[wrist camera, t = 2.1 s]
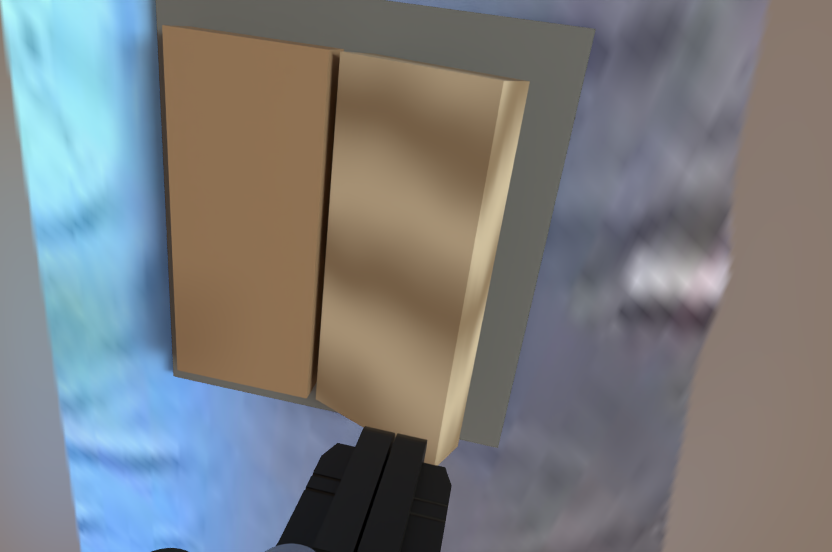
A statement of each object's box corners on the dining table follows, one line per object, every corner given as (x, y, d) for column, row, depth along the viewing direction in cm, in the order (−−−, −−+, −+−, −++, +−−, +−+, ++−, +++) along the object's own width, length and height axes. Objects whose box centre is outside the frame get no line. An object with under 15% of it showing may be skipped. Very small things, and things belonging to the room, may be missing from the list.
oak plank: (373, 53, 23) (340, 51, 22) (529, 81, 20) (503, 81, 18) (343, 382, 30) (315, 399, 28) (457, 446, 26) (433, 469, 25)
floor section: (162, -30, 24) (123, -38, 22) (593, 29, 22) (601, 27, 20) (179, 370, 32) (151, 396, 30) (498, 440, 30) (495, 474, 28)
